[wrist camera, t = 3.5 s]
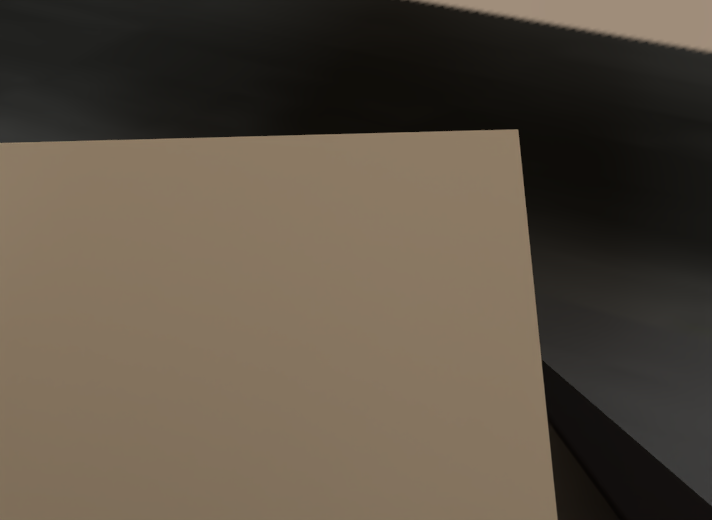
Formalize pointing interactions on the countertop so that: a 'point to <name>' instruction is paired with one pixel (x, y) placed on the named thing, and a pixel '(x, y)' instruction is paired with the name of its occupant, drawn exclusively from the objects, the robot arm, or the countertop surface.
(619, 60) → the countertop surface
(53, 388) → the pillar block
